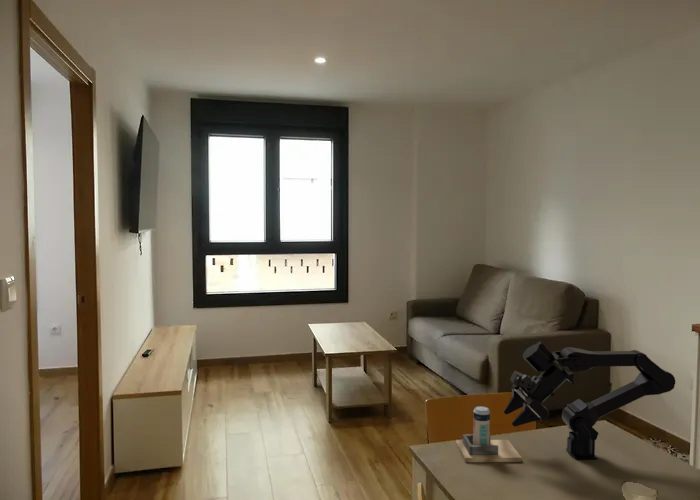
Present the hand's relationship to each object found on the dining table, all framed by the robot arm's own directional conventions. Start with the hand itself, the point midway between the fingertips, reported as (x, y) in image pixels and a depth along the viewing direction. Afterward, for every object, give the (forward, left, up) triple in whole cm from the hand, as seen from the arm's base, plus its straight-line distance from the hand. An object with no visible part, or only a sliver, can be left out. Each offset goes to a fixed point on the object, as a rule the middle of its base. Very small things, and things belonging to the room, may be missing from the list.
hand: (508, 419), depth 151 cm
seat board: (+6, -1, -10) cm, 12 cm away
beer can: (+8, -1, -9) cm, 12 cm away
